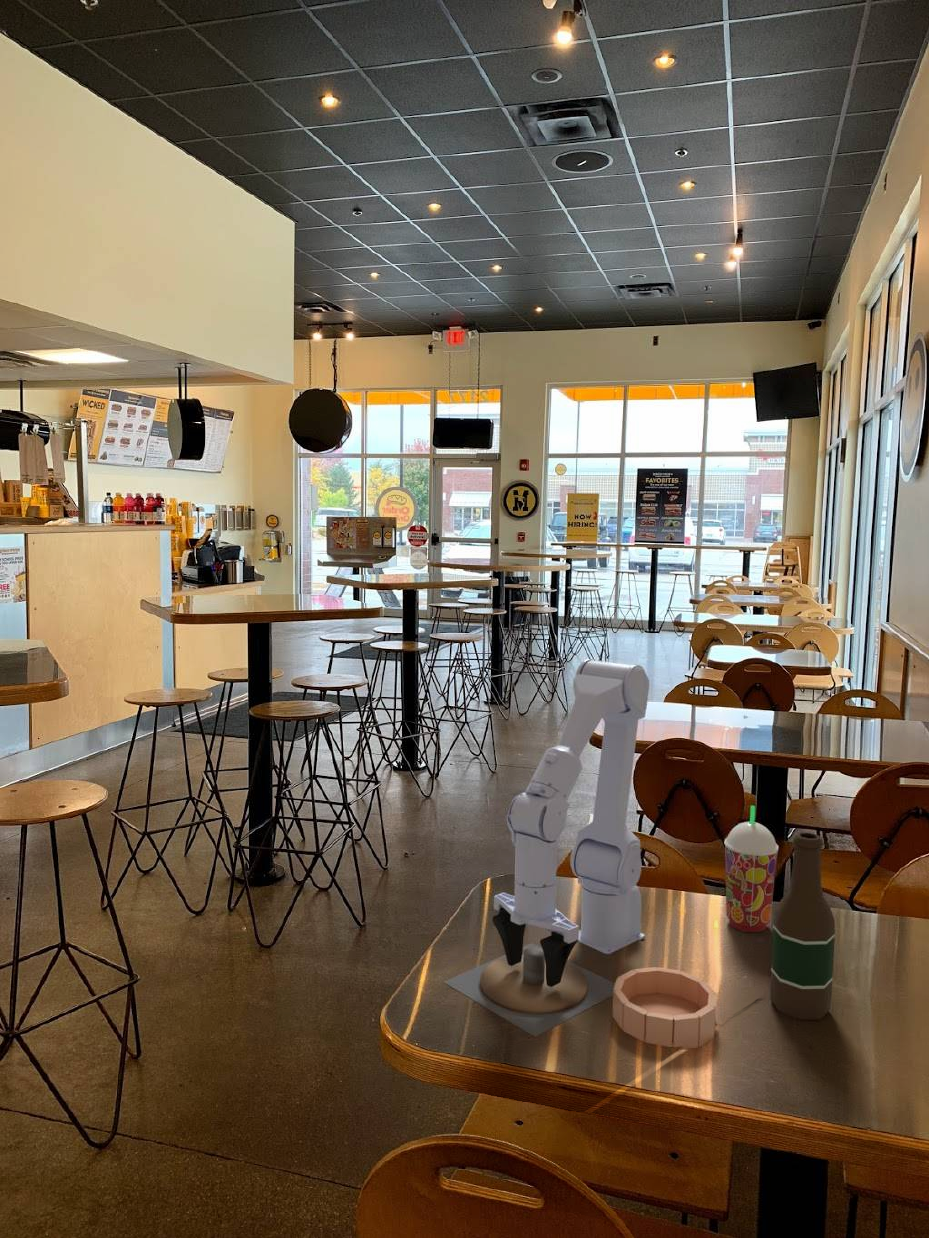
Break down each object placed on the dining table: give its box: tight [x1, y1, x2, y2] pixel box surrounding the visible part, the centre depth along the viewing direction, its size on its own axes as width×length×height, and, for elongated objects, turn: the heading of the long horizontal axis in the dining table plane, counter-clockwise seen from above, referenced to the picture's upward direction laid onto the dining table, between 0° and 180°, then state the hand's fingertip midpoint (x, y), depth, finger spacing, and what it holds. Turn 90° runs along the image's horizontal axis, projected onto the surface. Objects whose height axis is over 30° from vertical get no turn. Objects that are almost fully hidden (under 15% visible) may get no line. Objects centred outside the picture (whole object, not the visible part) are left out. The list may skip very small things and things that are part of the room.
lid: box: [480, 948, 588, 1014], centre depth 125 cm, size 15×15×5 cm
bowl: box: [612, 966, 718, 1051], centre depth 118 cm, size 13×13×4 cm
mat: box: [443, 942, 616, 1038], centre depth 126 cm, size 18×18×1 cm
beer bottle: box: [769, 831, 836, 1021], centre depth 120 cm, size 8×8×24 cm
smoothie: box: [723, 805, 779, 933], centre depth 145 cm, size 8×8×20 cm
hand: (533, 973), depth 126 cm, fingers open, 7 cm apart
